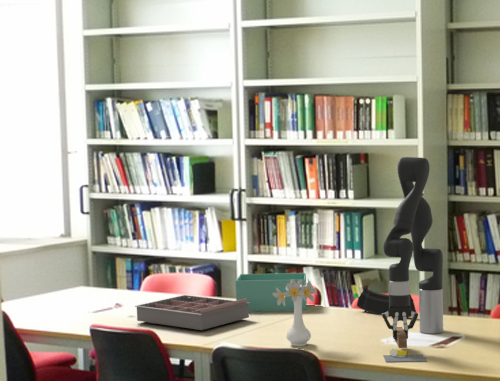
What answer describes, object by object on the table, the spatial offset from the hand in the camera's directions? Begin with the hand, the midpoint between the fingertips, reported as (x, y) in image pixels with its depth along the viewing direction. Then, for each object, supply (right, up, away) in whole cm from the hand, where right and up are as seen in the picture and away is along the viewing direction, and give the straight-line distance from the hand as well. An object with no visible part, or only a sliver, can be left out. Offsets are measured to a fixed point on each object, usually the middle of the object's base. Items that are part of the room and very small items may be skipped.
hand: (400, 339), depth 315 cm
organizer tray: (-80, -4, +66) cm, 104 cm away
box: (-44, -1, +96) cm, 106 cm away
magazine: (+5, -1, +68) cm, 68 cm away
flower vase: (-36, -5, +15) cm, 39 cm away
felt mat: (0, -5, -11) cm, 12 cm away
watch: (0, -4, -4) cm, 6 cm away
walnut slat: (0, -1, 0) cm, 1 cm away
